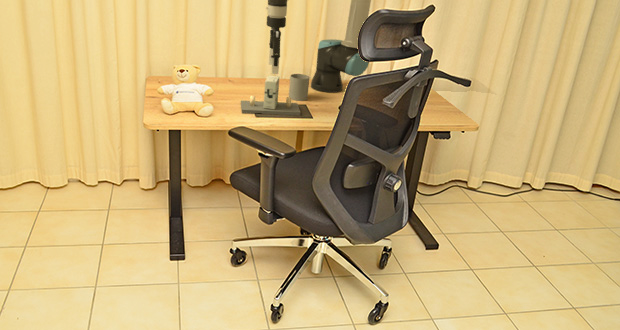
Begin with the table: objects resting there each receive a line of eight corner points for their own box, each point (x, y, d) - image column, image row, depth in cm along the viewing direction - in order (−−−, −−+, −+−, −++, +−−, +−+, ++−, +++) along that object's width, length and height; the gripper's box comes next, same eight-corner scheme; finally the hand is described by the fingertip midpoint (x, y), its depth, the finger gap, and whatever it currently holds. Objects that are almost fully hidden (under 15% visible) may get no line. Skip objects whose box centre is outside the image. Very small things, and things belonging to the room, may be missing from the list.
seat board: (296, 106, 259) (297, 94, 257) (300, 115, 248) (301, 103, 246) (240, 103, 255) (241, 91, 253) (241, 113, 244) (242, 100, 242)
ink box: (266, 102, 255) (268, 74, 251) (277, 103, 255) (280, 76, 250) (262, 108, 247) (264, 80, 243) (274, 109, 247) (276, 81, 242)
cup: (304, 102, 266) (307, 80, 262) (286, 99, 267) (288, 77, 263) (308, 96, 274) (310, 75, 270) (291, 94, 275) (293, 72, 271)
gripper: (264, 9, 247) (262, 60, 256) (269, 22, 225) (266, 77, 233) (283, 10, 248) (279, 61, 257) (289, 23, 226) (285, 78, 234)
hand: (273, 69), depth 245 cm, fingers open, 13 cm apart
